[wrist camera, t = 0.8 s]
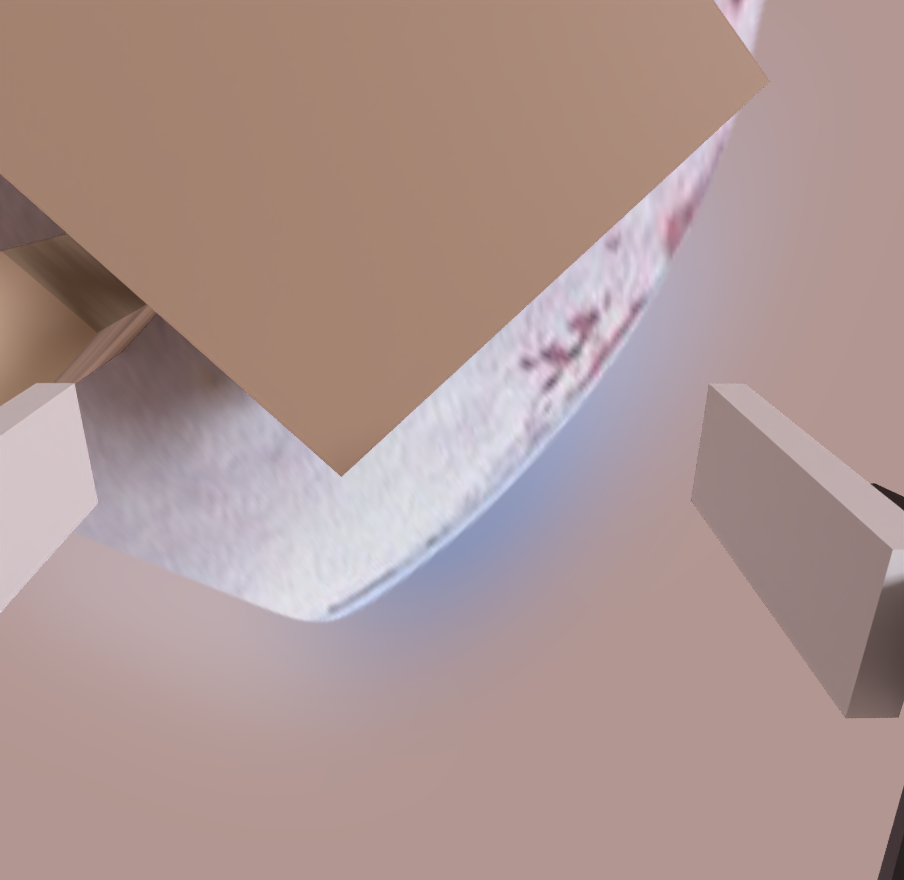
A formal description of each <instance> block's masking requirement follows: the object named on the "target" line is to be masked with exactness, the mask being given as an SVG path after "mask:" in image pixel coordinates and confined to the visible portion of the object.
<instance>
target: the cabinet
mask: <svg viewBox="0 0 904 880" xmlns="http://www.w3.org/2000/svg"><path fill="white" fill-rule="evenodd" d="M769 82H770V80H769V79H768V77H767V76H766V74H765V73H764V72H763V70H762V69H761V67H760V66H759V64H758V63H757V62H756V60H755V59H754V57H753V56H752V55H751V53H750V52H749V50H748V49H747V47H746V46H745V45H744V43H743V42H742V40H741V39H740V37H739V36H738V35H737V33H736V32H735V30H734V29H733V28H732V26H731V25H730V23H729V22H728V20H727V19H726V18H725V16H724V15H723V13H722V12H721V10H720V9H719V8H718V6H717V5H716V3H715V2H714V1H713V0H0V174H1V175H2V176H3V177H4V178H5V179H6V180H8V181H9V182H10V183H11V184H12V185H13V186H14V187H15V188H17V189H18V190H19V191H20V192H21V193H22V194H23V195H24V196H26V197H27V198H28V199H29V200H30V201H31V202H32V203H33V204H35V205H36V206H37V207H38V208H39V209H40V210H41V211H42V212H44V213H45V214H46V215H47V216H48V217H49V218H50V219H51V220H53V221H54V222H55V223H56V224H57V225H58V226H59V227H60V228H62V229H63V230H64V231H65V232H66V233H67V234H68V235H69V236H71V237H72V238H73V239H74V240H75V241H76V242H77V243H79V244H80V245H81V246H82V247H83V248H84V249H85V250H86V251H88V252H89V253H90V254H91V255H92V256H93V257H94V258H95V259H97V260H98V261H99V262H100V263H101V264H102V265H103V266H104V267H106V268H107V269H108V270H109V271H110V272H111V273H112V274H113V275H115V276H116V277H117V278H118V279H119V280H120V281H121V282H122V283H124V284H125V285H126V286H127V287H128V288H129V289H130V290H131V291H133V292H134V293H135V294H136V295H137V296H138V297H139V298H140V299H142V300H143V301H144V302H145V303H146V304H147V305H148V306H150V307H151V308H152V309H153V310H154V311H155V312H156V313H157V314H159V315H160V316H161V317H162V318H163V319H164V320H165V321H166V322H168V323H169V324H170V325H171V326H172V327H173V328H174V329H175V330H177V331H178V332H179V333H180V334H181V335H182V336H183V337H184V338H186V339H187V340H188V341H189V342H190V343H191V344H192V345H193V346H195V347H196V348H197V349H198V350H199V351H200V352H201V353H202V354H204V355H205V356H206V357H207V358H208V359H209V360H210V361H211V362H213V363H214V364H215V365H216V366H217V367H218V368H219V369H221V370H222V371H223V372H224V373H225V374H226V375H227V376H228V377H230V378H231V379H232V380H233V381H234V382H235V383H236V384H237V385H239V386H240V387H241V388H242V389H243V390H244V391H245V392H246V393H248V394H249V395H250V396H251V397H252V398H253V399H254V400H255V401H257V402H258V403H259V404H260V405H261V406H262V407H263V408H264V409H266V410H267V411H268V412H269V413H270V414H271V415H272V416H273V417H275V418H276V419H277V420H278V421H279V422H280V423H281V424H282V425H284V426H285V427H286V428H287V429H288V430H289V431H290V432H292V433H293V434H294V435H295V436H296V437H297V438H298V439H299V440H301V441H302V442H303V443H304V444H305V445H306V446H307V447H308V448H310V449H311V450H312V451H313V452H314V453H315V454H316V455H317V456H319V457H320V458H321V459H322V460H323V461H324V462H325V463H326V464H328V465H329V466H330V467H331V468H332V469H333V470H334V471H335V472H337V473H338V474H339V475H340V476H341V477H342V476H343V475H344V474H345V473H346V472H347V471H348V470H349V469H350V468H352V467H353V466H354V465H355V464H356V463H357V462H358V461H359V460H360V459H361V458H362V457H363V456H365V455H366V454H367V453H368V452H369V451H370V450H371V449H372V448H373V447H374V446H375V445H376V444H378V443H379V442H380V441H381V440H382V439H383V438H384V437H385V436H386V435H387V434H388V433H389V432H391V431H392V430H393V429H394V428H395V427H396V426H397V425H398V424H399V423H400V422H401V421H402V420H404V419H405V418H406V417H407V416H408V415H409V414H410V413H411V412H412V411H413V410H414V409H416V408H417V407H418V406H419V405H420V404H421V403H422V402H423V401H424V400H425V399H426V398H427V397H429V396H430V395H431V394H432V393H433V392H434V391H435V390H436V389H437V388H438V387H439V386H440V385H442V384H443V383H444V382H445V381H446V380H447V379H448V378H449V377H450V376H451V375H452V374H453V373H455V372H456V371H457V370H458V369H459V368H460V367H461V366H462V365H463V364H464V363H465V362H466V361H468V360H469V359H470V358H471V357H472V356H473V355H474V354H475V353H476V352H477V351H478V350H479V349H481V348H482V347H483V346H484V345H485V344H486V343H487V342H488V341H489V340H490V339H491V338H492V337H494V336H495V335H496V334H497V333H498V332H499V331H500V330H501V329H502V328H503V327H504V326H505V325H507V324H508V323H509V322H510V321H511V320H512V319H513V318H514V317H515V316H516V315H517V314H518V313H520V312H521V311H522V310H523V309H524V308H525V307H526V306H527V305H528V304H529V303H530V302H532V301H533V300H534V299H535V298H536V297H537V296H538V295H539V294H540V293H541V292H542V291H543V290H545V289H546V288H547V287H548V286H549V285H550V284H551V283H552V282H553V281H554V280H555V279H556V278H558V277H559V276H560V275H561V274H562V273H563V272H564V271H565V270H566V269H567V268H568V267H569V266H571V265H572V264H573V263H574V262H575V261H576V260H577V259H578V258H579V257H580V256H581V255H582V254H584V253H585V252H586V251H587V250H588V249H589V248H590V247H591V246H592V245H593V244H594V243H595V242H597V241H598V240H599V239H600V238H601V237H602V236H603V235H604V234H605V233H606V232H607V231H608V230H610V229H611V228H612V227H613V226H614V225H615V224H616V223H617V222H618V221H619V220H620V219H621V218H623V217H624V216H625V215H626V214H627V213H628V212H629V211H630V210H631V209H632V208H633V207H635V206H636V205H637V204H638V203H639V202H640V201H641V200H642V199H643V198H644V197H645V196H646V195H648V194H649V193H650V192H651V191H652V190H653V189H654V188H655V187H656V186H657V185H658V184H659V183H661V182H662V181H663V180H664V179H665V178H666V177H667V176H668V175H669V174H670V173H671V172H672V171H674V170H675V169H676V168H677V167H678V166H679V165H680V164H681V163H682V162H683V161H684V160H685V159H687V158H688V157H689V156H690V155H691V154H692V153H693V152H694V151H695V150H696V149H697V148H698V147H700V146H701V145H702V144H703V143H704V142H705V141H706V140H707V139H708V138H709V137H710V136H711V135H713V134H714V133H715V132H716V131H717V130H718V129H719V128H720V127H721V126H722V125H723V124H724V123H726V122H727V121H728V120H729V119H730V118H731V117H732V116H733V115H734V114H735V113H736V112H737V111H739V110H740V109H741V108H742V107H743V106H744V105H745V104H746V103H747V102H748V101H749V100H751V99H752V98H753V97H754V96H755V95H756V94H757V93H758V92H759V91H760V90H761V89H762V88H764V86H766V85H767V84H768V83H769Z"/></svg>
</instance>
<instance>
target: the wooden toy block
mask: <svg viewBox="0 0 904 880" xmlns="http://www.w3.org/2000/svg"><path fill="white" fill-rule="evenodd" d="M156 314H157V313H156V312H155V311H154V310H153V309H152V308H151V307H150V306H148V305H147V304H146V303H145V302H144V301H143V300H142V299H140V298H139V297H138V296H137V295H136V294H135V293H134V292H133V291H131V290H130V289H129V288H128V287H127V286H126V285H125V284H124V283H122V282H121V281H120V280H119V279H118V278H117V277H116V276H115V275H113V274H112V273H111V272H110V271H109V270H108V269H107V268H106V267H104V266H103V265H102V264H101V263H100V262H99V261H98V260H97V259H95V258H94V257H93V256H92V255H91V254H90V253H89V252H88V251H86V250H85V249H84V248H83V247H82V246H81V245H80V244H79V243H77V242H76V241H75V240H74V239H73V238H72V237H71V236H69V235H68V234H65V235H61V236H57V237H53V238H49V239H45V240H41V241H37V242H33V243H29V244H25V245H21V246H17V247H14V248H10V249H6V250H2V251H0V406H1V405H3V404H5V403H6V402H8V401H9V400H11V399H12V398H14V397H16V396H17V395H19V394H20V393H22V392H23V391H25V390H26V389H28V388H30V387H31V386H33V385H34V384H36V383H75V384H76V383H77V382H79V381H80V380H82V379H83V378H84V377H86V376H87V375H89V374H90V373H92V372H93V371H95V370H96V369H98V368H99V367H101V366H102V365H104V364H105V363H107V362H108V361H110V360H111V359H113V358H114V357H115V356H117V355H118V354H120V353H121V352H122V351H123V350H124V349H125V348H126V347H127V346H128V345H129V344H130V343H131V341H132V340H133V339H134V338H135V337H136V336H137V335H138V334H139V333H140V332H141V330H142V329H143V328H144V327H145V326H146V325H147V324H148V323H149V322H150V321H151V319H152V318H153V317H154V316H155V315H156Z"/></svg>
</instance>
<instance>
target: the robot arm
mask: <svg viewBox="0 0 904 880" xmlns="http://www.w3.org/2000/svg"><path fill="white" fill-rule="evenodd" d="M691 501H692V502H693V504H694V506H695V507H696V508H697V510H698V511H699V513H700V514H701V515H702V517H703V518H704V520H705V521H706V522H707V524H708V525H709V526H710V528H711V529H712V531H713V532H714V533H715V535H716V536H717V538H718V539H719V541H720V542H721V544H722V545H723V546H724V548H725V549H726V551H727V552H728V553H729V555H730V556H731V558H732V559H733V560H734V562H735V563H736V564H737V566H738V567H739V569H740V570H741V572H742V573H743V575H744V576H745V577H746V579H747V580H748V581H749V583H750V584H751V586H752V587H753V589H754V590H755V591H756V593H757V594H758V596H759V597H760V598H761V600H762V601H763V603H764V604H765V605H766V607H767V608H768V610H769V611H770V613H771V614H772V615H773V617H774V618H775V619H776V621H777V622H778V624H779V625H780V627H781V628H782V629H783V631H784V632H785V634H786V635H787V636H788V638H789V639H790V641H791V642H792V644H793V645H794V646H795V648H796V649H797V650H798V652H799V653H800V655H801V656H802V658H803V659H804V660H805V661H806V663H807V664H808V666H809V667H810V669H811V670H812V672H813V673H814V675H815V676H816V677H817V678H818V680H819V681H820V683H821V684H822V686H823V687H824V689H825V690H826V691H827V693H828V694H829V696H830V697H831V698H832V700H833V701H834V703H835V704H836V705H837V707H838V708H839V710H840V711H841V712H842V714H843V715H844V717H845V718H888V717H889V718H892V717H899V715H900V711H901V708H902V705H903V702H904V497H903V496H901V495H899V494H897V493H894V492H892V491H890V490H888V489H886V488H883V487H881V486H879V485H877V484H874V483H873V484H870V483H868V482H867V481H866V480H865V479H863V478H862V477H861V476H860V475H858V474H857V473H856V472H854V471H853V470H852V469H851V468H850V467H848V466H847V465H846V464H845V463H843V462H842V461H841V460H840V459H838V458H837V457H836V456H835V455H833V454H832V453H831V452H830V451H828V450H827V449H826V448H825V447H823V446H822V445H821V444H820V443H818V442H817V441H816V440H815V439H813V438H812V437H811V436H810V435H808V434H807V433H806V432H805V431H803V430H802V429H801V428H800V427H798V426H797V425H796V424H795V423H793V422H792V421H791V420H790V419H788V418H787V417H786V416H785V415H783V414H782V413H781V412H779V411H778V410H777V409H776V408H774V407H773V406H772V405H771V404H770V403H768V402H767V401H766V400H765V399H763V398H762V397H761V396H760V395H758V394H757V393H756V392H754V391H753V390H752V389H751V388H750V387H748V386H747V385H746V384H709V386H708V393H707V400H706V407H705V413H704V420H703V425H702V432H701V438H700V445H699V451H698V458H697V464H696V471H695V478H694V484H693V491H692V497H691ZM97 504H98V500H97V494H96V489H95V484H94V479H93V474H92V469H91V464H90V459H89V454H88V449H87V444H86V439H85V434H84V429H83V424H82V419H81V414H80V409H79V403H78V398H77V393H76V388H75V383H36V384H34V385H33V386H31V387H30V388H28V389H26V390H25V391H23V392H22V393H20V394H19V395H17V396H16V397H14V398H12V399H11V400H9V401H8V402H6V403H5V404H3V405H1V406H0V613H1V612H2V611H3V609H4V608H5V607H6V606H7V605H8V604H9V603H10V601H11V600H12V599H13V598H14V597H15V596H16V595H17V594H18V593H19V591H20V590H21V589H22V588H23V587H24V586H25V585H26V583H27V582H28V581H29V580H30V579H31V578H32V577H33V576H34V575H35V573H36V572H37V571H38V570H39V569H40V568H41V566H43V564H44V563H45V562H46V561H47V560H48V559H49V558H50V557H51V555H52V554H53V553H54V552H55V551H56V550H57V548H58V547H59V546H60V545H61V544H62V543H63V542H64V541H65V540H66V539H67V537H68V536H69V535H70V534H71V533H72V532H73V531H74V530H75V528H76V527H77V526H78V525H79V524H80V523H81V522H82V521H83V519H84V518H85V517H86V516H87V515H88V514H89V513H90V512H91V510H92V509H93V508H94V507H95V506H96V505H97ZM878 880H904V787H903V791H902V794H901V798H900V802H899V805H898V809H897V812H896V816H895V820H894V823H893V827H892V830H891V834H890V837H889V841H888V844H887V848H886V851H885V855H884V859H883V862H882V866H881V870H880V873H879V877H878Z"/></svg>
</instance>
